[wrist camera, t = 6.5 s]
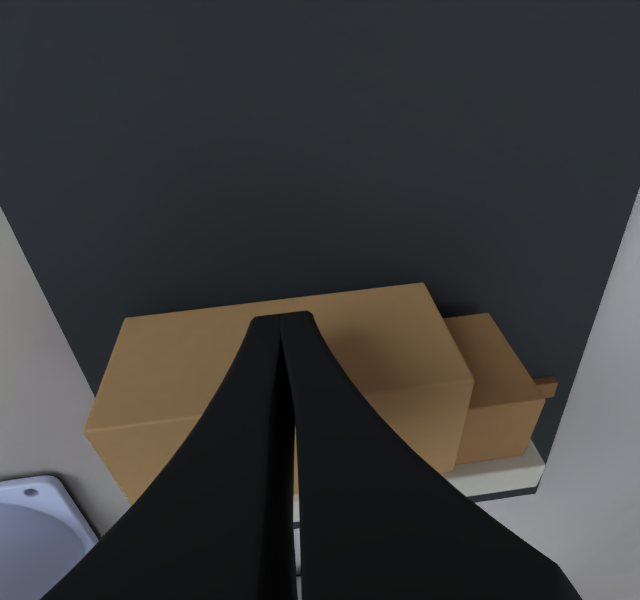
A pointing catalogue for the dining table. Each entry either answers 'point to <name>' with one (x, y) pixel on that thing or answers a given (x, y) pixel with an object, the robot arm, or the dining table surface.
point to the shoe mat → (324, 160)
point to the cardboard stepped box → (360, 366)
